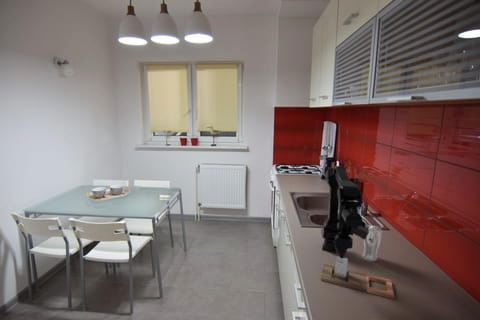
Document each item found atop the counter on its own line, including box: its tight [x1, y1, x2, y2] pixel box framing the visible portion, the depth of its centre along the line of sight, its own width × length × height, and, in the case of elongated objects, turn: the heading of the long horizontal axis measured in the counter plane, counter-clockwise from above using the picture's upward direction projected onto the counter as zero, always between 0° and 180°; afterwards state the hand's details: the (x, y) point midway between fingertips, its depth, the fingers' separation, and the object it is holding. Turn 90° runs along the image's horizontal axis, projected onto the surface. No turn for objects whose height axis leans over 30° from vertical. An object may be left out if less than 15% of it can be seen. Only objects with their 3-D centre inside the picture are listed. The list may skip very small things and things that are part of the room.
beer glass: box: [362, 224, 382, 263], centre depth 123 cm, size 7×7×15 cm
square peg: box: [333, 255, 349, 281], centre depth 109 cm, size 4×4×8 cm
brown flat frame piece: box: [320, 263, 395, 300], centre depth 108 cm, size 10×26×1 cm, turn 67°
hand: (342, 252), depth 108 cm, fingers open, 9 cm apart
